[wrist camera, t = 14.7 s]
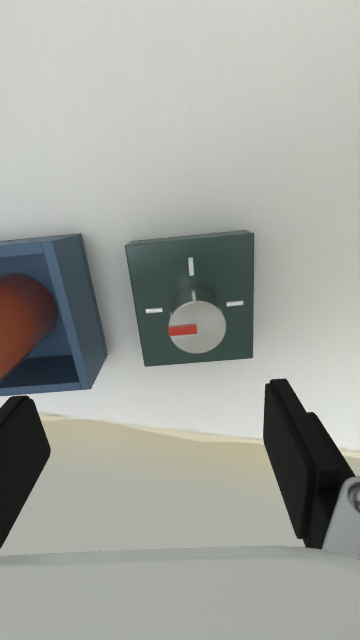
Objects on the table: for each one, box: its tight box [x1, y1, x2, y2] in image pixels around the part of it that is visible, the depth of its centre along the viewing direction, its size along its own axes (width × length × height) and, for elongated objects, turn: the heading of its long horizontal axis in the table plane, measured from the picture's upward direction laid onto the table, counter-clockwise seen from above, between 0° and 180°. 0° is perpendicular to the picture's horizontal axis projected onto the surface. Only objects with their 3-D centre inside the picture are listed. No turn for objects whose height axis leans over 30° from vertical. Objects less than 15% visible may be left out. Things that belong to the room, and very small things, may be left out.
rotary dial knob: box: [168, 284, 226, 354], centre depth 21 cm, size 4×4×5 cm
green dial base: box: [125, 230, 254, 367], centre depth 24 cm, size 10×11×3 cm
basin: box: [0, 233, 108, 396], centre depth 24 cm, size 14×12×6 cm
